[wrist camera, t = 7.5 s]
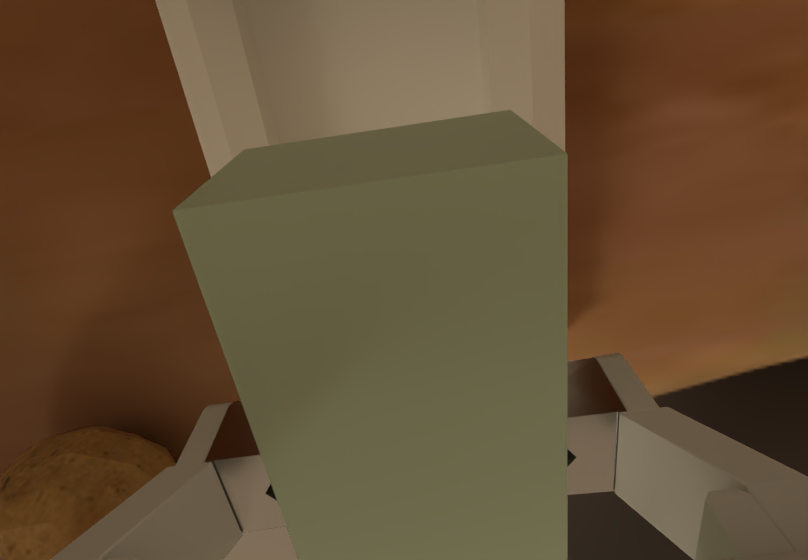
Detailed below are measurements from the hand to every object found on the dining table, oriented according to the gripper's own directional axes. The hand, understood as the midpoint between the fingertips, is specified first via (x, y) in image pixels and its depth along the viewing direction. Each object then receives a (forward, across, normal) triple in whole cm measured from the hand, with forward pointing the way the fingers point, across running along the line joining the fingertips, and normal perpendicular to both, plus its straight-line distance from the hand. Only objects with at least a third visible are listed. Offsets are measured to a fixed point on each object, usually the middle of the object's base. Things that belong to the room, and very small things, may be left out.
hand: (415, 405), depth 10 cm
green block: (+2, 0, 0) cm, 2 cm away
